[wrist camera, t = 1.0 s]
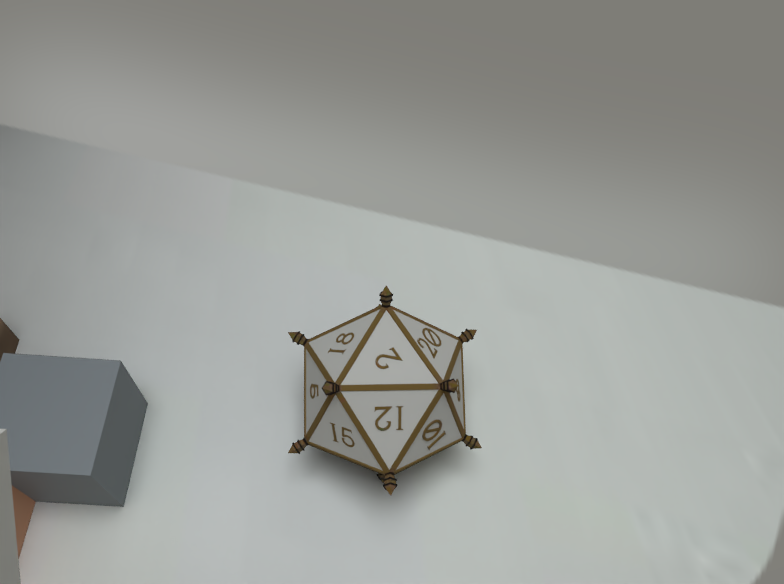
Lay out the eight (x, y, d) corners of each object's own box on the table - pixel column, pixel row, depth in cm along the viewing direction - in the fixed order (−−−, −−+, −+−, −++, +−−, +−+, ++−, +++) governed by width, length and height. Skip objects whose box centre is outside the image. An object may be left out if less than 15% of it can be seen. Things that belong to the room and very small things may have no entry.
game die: (361, 413, 39) (362, 239, 36) (505, 465, 35) (523, 274, 32) (249, 502, 32) (235, 297, 29) (413, 579, 28) (421, 351, 24)
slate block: (45, 397, 35) (3, 353, 31) (148, 403, 35) (120, 360, 31) (12, 500, 33) (-38, 467, 28) (124, 507, 33) (90, 475, 28)
